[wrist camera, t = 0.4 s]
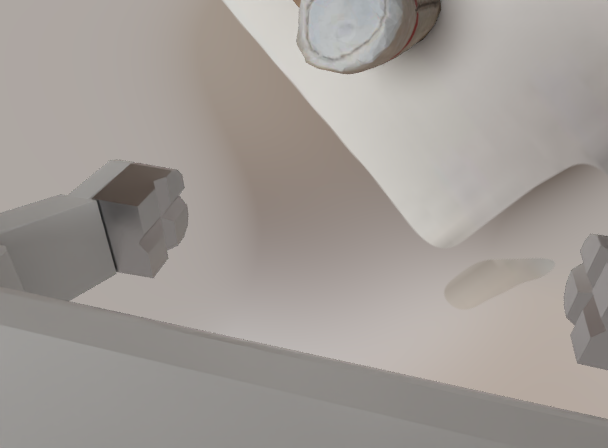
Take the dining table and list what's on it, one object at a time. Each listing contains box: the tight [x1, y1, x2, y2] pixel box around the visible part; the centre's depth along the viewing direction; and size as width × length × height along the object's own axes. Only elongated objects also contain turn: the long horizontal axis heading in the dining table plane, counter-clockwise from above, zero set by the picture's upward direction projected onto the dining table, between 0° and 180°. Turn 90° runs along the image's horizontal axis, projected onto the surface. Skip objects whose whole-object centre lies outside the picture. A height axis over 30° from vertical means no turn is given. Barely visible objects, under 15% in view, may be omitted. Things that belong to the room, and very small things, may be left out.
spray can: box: [296, 0, 441, 74], centre depth 42 cm, size 8×8×20 cm
